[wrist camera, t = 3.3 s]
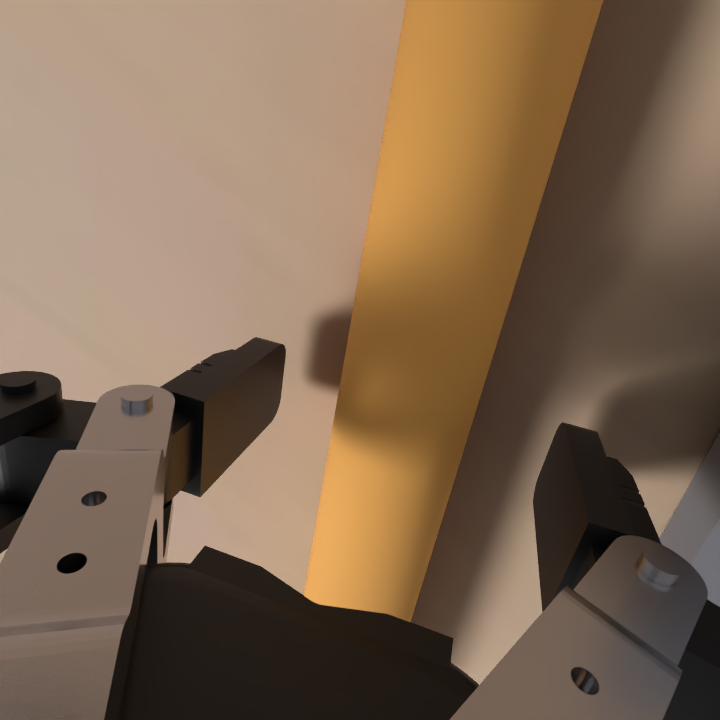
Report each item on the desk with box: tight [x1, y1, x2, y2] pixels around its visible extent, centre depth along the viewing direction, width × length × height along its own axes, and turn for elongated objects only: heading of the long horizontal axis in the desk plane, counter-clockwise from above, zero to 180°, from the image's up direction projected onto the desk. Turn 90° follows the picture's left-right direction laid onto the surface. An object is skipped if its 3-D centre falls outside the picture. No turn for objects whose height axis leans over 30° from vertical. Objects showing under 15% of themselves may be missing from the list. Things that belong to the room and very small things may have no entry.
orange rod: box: [304, 0, 603, 622], centre depth 12 cm, size 22×3×3 cm, turn 170°
